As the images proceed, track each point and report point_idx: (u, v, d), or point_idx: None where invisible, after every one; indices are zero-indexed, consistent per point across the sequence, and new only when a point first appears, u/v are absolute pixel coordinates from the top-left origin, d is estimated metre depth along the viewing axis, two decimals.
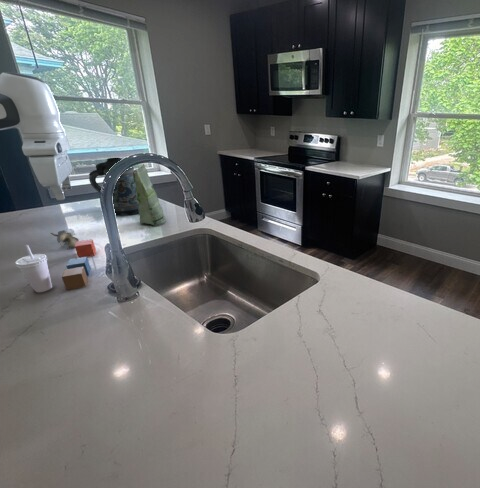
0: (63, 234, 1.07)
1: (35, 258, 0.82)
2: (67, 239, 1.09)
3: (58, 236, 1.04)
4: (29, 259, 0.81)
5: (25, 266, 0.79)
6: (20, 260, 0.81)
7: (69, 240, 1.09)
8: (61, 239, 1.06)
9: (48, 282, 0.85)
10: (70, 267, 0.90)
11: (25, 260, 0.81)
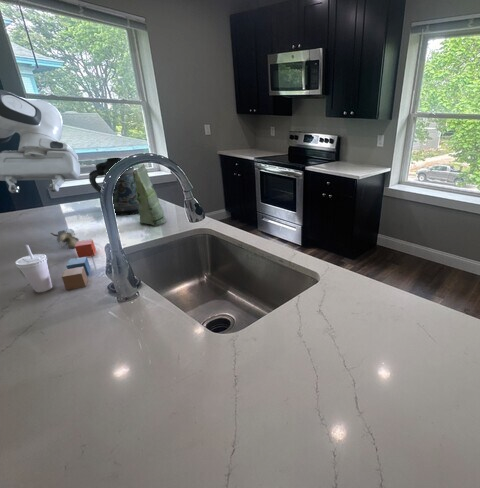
0: (63, 234, 1.07)
1: (35, 258, 0.82)
2: (67, 239, 1.09)
3: (58, 236, 1.04)
4: (29, 259, 0.81)
5: (25, 266, 0.79)
6: (20, 260, 0.81)
7: (69, 240, 1.09)
8: (61, 239, 1.06)
9: (48, 282, 0.85)
10: (70, 267, 0.90)
11: (25, 260, 0.81)
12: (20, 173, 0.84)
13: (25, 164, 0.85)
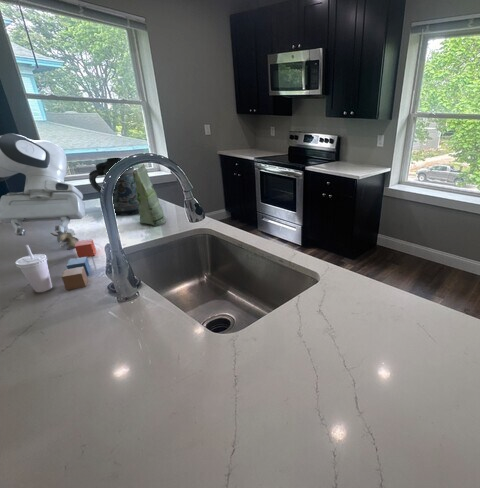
0: (63, 234, 1.07)
1: (35, 258, 0.82)
2: (67, 239, 1.09)
3: (58, 236, 1.04)
4: (29, 259, 0.81)
5: (25, 266, 0.79)
6: (20, 260, 0.81)
7: (69, 240, 1.09)
8: (61, 239, 1.06)
9: (48, 282, 0.85)
10: (70, 267, 0.90)
11: (25, 260, 0.81)
12: (26, 216, 0.85)
13: (30, 206, 0.86)
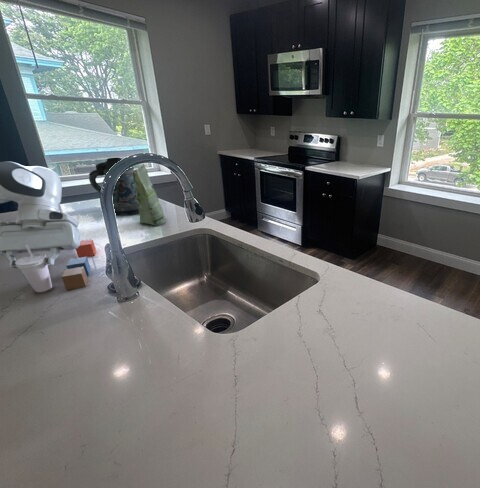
0: None
1: (35, 258, 0.82)
2: None
3: None
4: (29, 259, 0.81)
5: (25, 266, 0.79)
6: (20, 260, 0.81)
7: None
8: None
9: (48, 282, 0.85)
10: (70, 267, 0.90)
11: (25, 260, 0.81)
12: (18, 248, 0.81)
13: (22, 237, 0.82)
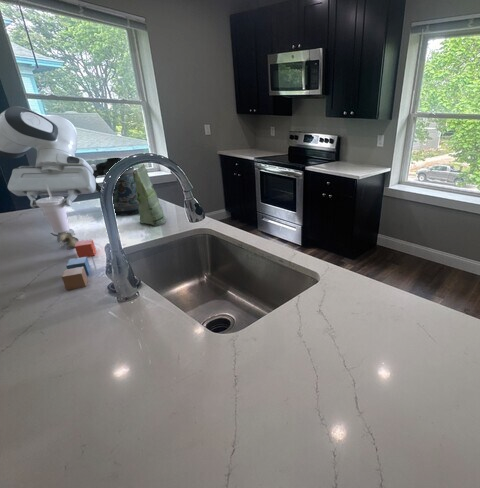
0: (63, 234, 1.07)
1: (54, 199, 0.86)
2: (67, 239, 1.09)
3: (58, 236, 1.04)
4: (48, 199, 0.85)
5: (45, 205, 0.84)
6: (40, 200, 0.85)
7: (69, 240, 1.09)
8: (61, 239, 1.06)
9: (66, 224, 0.89)
10: (70, 267, 0.90)
11: (45, 200, 0.85)
12: (38, 188, 0.85)
13: (42, 179, 0.86)
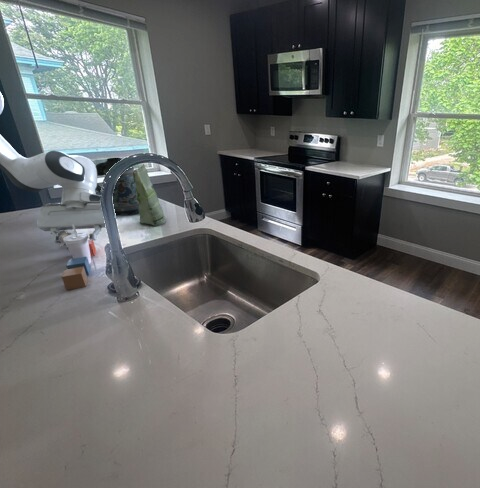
0: (63, 234, 1.07)
1: (79, 236, 0.95)
2: None
3: None
4: (74, 237, 0.94)
5: (72, 243, 0.93)
6: (66, 237, 0.94)
7: None
8: None
9: (89, 258, 0.98)
10: (70, 267, 0.90)
11: (71, 237, 0.94)
12: (63, 225, 0.94)
13: (67, 216, 0.95)
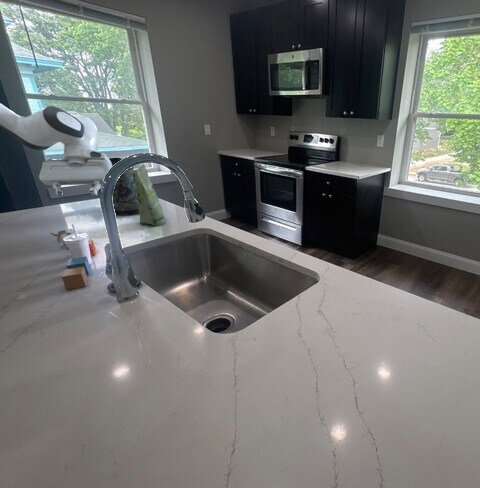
0: (63, 234, 1.07)
1: (79, 236, 0.95)
2: None
3: (58, 236, 1.04)
4: (74, 237, 0.94)
5: (72, 243, 0.93)
6: (66, 237, 0.94)
7: None
8: (61, 239, 1.06)
9: (89, 258, 0.98)
10: (70, 267, 0.90)
11: (71, 237, 0.94)
12: (65, 179, 0.97)
13: (68, 171, 0.98)
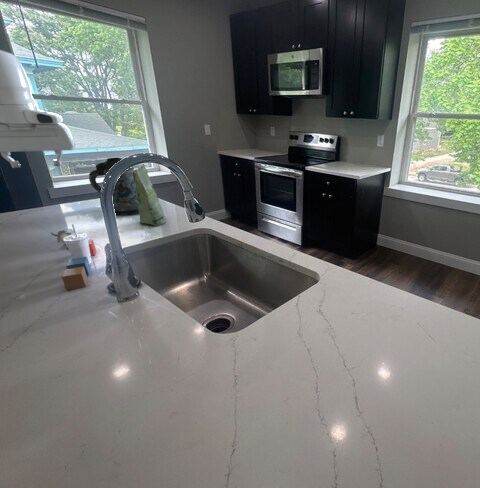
0: (63, 234, 1.07)
1: (79, 236, 0.95)
2: None
3: (58, 236, 1.04)
4: (74, 237, 0.94)
5: (72, 243, 0.93)
6: (66, 237, 0.94)
7: None
8: (61, 239, 1.06)
9: (89, 258, 0.98)
10: (70, 267, 0.90)
11: (71, 237, 0.94)
12: (17, 150, 0.83)
13: (16, 139, 0.82)
